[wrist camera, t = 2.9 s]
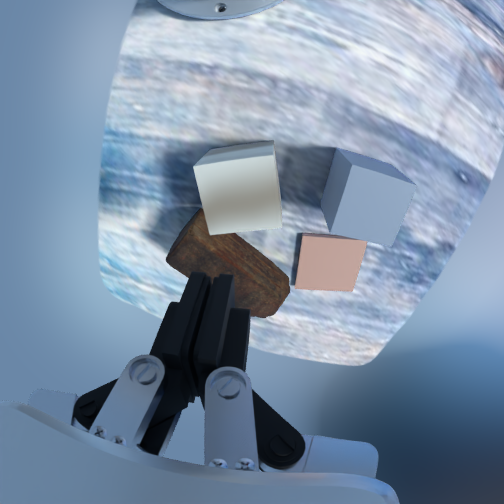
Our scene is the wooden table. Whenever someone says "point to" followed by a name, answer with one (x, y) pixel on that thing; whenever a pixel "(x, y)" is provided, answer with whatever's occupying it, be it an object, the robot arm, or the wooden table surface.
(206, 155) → the pale grey cube
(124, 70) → the wooden table surface
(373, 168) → the slate block
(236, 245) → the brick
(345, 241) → the tile
